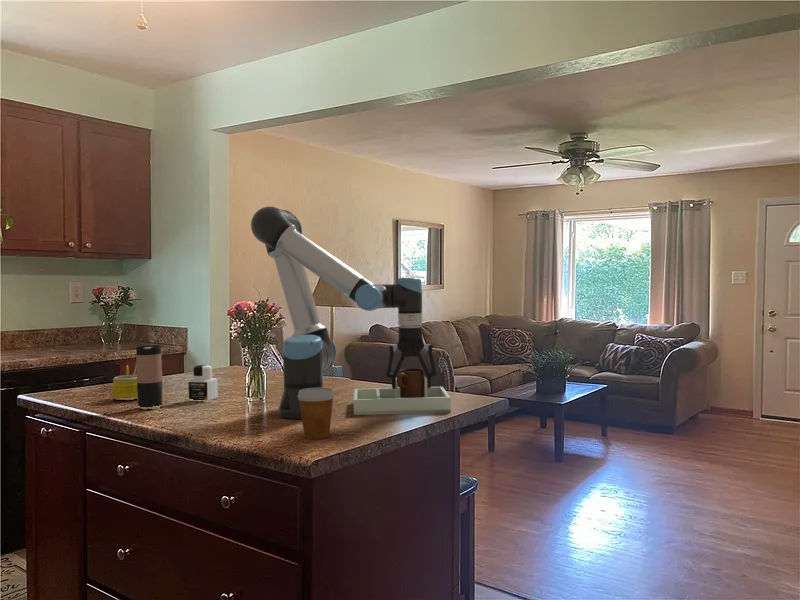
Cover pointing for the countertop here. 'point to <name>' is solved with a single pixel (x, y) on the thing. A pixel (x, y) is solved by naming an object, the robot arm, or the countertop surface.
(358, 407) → the box
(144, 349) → the travel mug
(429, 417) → the countertop surface
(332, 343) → the robot arm
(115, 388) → the yellow birthday cake
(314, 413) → the disposable coffee cup
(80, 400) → the countertop surface
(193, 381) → the medicine bottle
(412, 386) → the mug
